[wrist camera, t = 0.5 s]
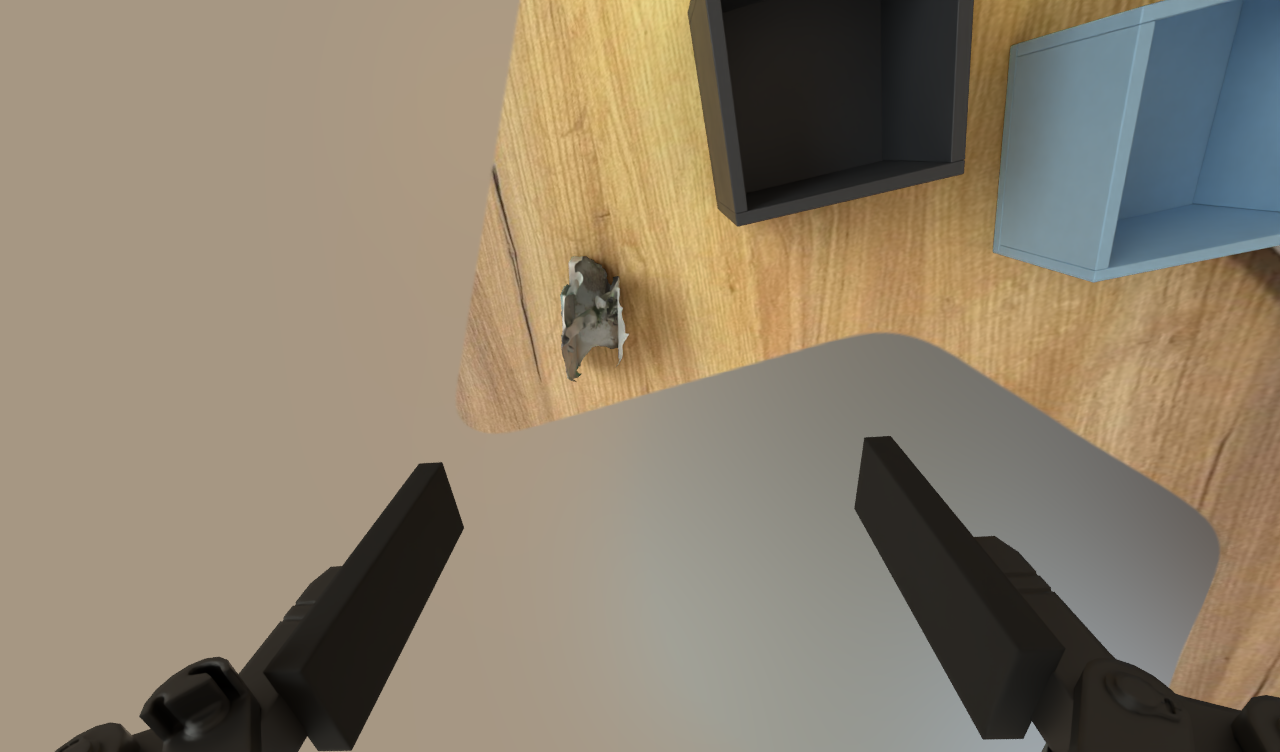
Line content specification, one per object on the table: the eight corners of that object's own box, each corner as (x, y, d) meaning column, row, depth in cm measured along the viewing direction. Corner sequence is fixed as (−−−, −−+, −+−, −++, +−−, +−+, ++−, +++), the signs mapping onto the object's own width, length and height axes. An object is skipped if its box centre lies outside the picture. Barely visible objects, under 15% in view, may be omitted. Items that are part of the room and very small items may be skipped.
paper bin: (1009, 45, 25) (1143, 5, 18) (1247, -17, 24) (1488, -86, 17) (992, 252, 30) (1093, 282, 23) (1189, 210, 28) (1360, 229, 21)
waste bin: (687, 11, 25) (699, -42, 18) (886, -47, 24) (981, -129, 17) (717, 209, 29) (736, 227, 22) (888, 168, 28) (964, 173, 21)
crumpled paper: (573, 365, 34) (555, 413, 28) (565, 254, 31) (542, 280, 24) (632, 366, 34) (627, 414, 28) (630, 254, 30) (624, 280, 24)
